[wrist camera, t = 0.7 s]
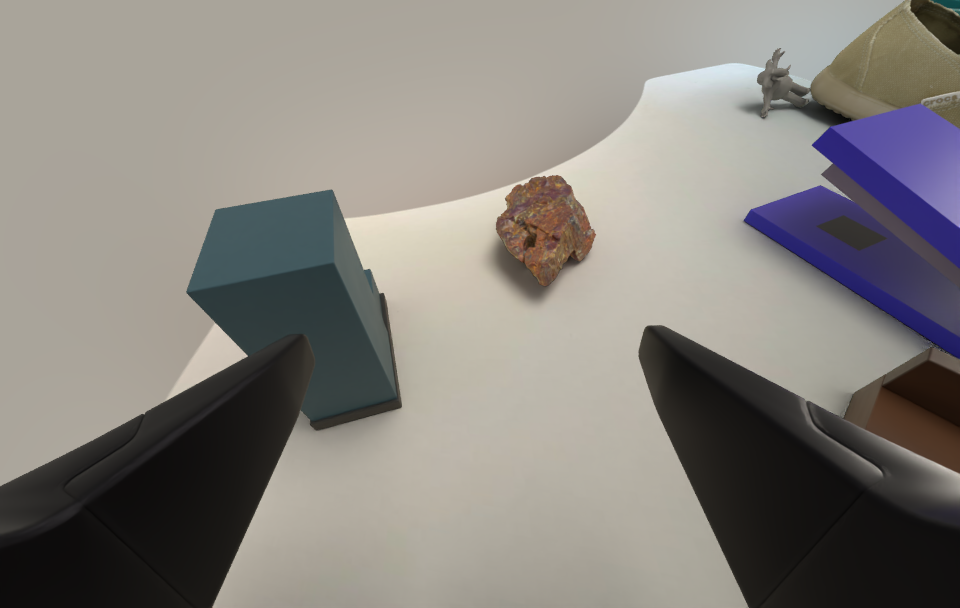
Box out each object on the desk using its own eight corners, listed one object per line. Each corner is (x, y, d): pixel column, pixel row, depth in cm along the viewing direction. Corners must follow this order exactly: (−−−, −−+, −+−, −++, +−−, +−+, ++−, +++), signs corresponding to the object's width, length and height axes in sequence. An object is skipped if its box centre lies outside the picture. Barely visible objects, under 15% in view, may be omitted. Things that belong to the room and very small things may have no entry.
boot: (402, 407, 24) (336, 264, 14) (315, 431, 23) (180, 297, 13) (386, 300, 30) (333, 150, 20) (318, 315, 29) (228, 166, 19)
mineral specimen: (632, 265, 29) (612, 216, 24) (554, 314, 31) (520, 278, 26) (567, 189, 37) (541, 140, 32) (507, 233, 39) (474, 193, 34)
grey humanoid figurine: (820, 123, 49) (773, 101, 47) (775, 140, 55) (731, 121, 53) (834, 53, 50) (787, 28, 47) (787, 78, 55) (743, 56, 53)
